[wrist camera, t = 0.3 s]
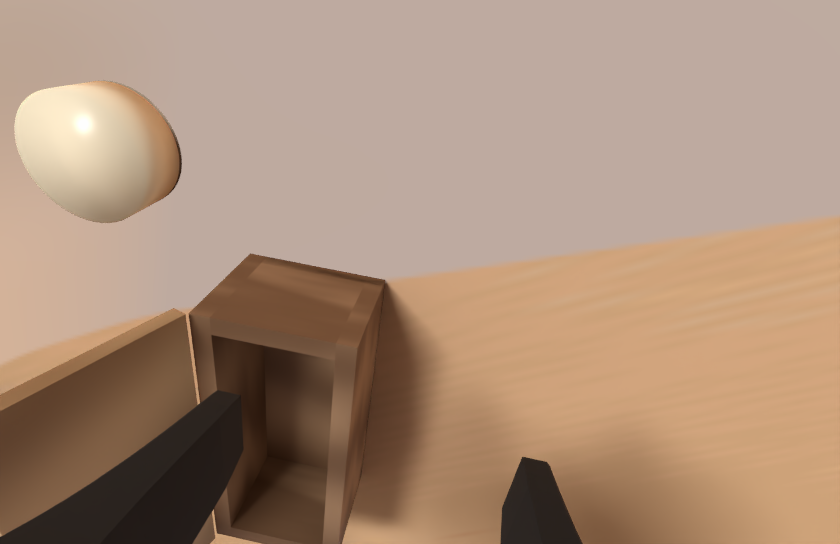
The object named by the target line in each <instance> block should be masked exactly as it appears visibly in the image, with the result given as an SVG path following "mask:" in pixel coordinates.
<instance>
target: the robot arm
mask: <svg viewBox="0 0 840 544" xmlns="http://www.w3.org/2000/svg"><path fill="white" fill-rule="evenodd" d="M243 450H244V447H243V428H242V408H241V395H238V394H233V393H229V392H224V391H220V390H217V391H215V392H214V393H212V394H211V395H210V396H209V397H207V398H206V399H205V400H204V401H202V402H201V403H200V404H198V405H197V406H196V407H195V408H193V409H192V410H191V411H190V412H188V413H187V414H186V415H184V416H183V417H182V418H181V419H179V420H178V421H177V422H175V423H174V424H173V425H172V426H170V427H169V428H168V429H166V430H165V431H164V432H162V433H161V434H160V435H158V436H157V437H156V438H154V439H153V440H152V441H150V442H149V443H147V444H146V445H145V446H143V447H142V448H141V449H139V450H138V451H137V452H135V453H134V454H132V455H131V456H130V457H128V458H127V459H125V460H124V461H122V462H121V463H120V464H118V465H117V466H115V467H114V468H112V469H111V470H109V471H108V472H106V473H105V474H103V475H102V476H100V477H99V478H98V479H96V480H95V481H93V482H92V483H90V484H89V485H87V486H85V487H84V488H82V489H81V490H79V491H78V492H76V493H75V494H73V495H71V496H70V497H68V498H67V499H65V500H63V501H62V502H60V503H58V504H57V505H55V506H53V507H52V508H50V509H48V510H47V511H45V512H43V513H42V514H40V515H38V516H37V517H35V518H33V519H31V520H30V521H28V522H26V523H24V524H22V525H21V526H19V527H17V528H15V529H13V530H12V531H10V532H8V533H6V534H5V535H3V536H1V537H0V544H193V542H194V540H195V539H196V537H197V535H198V534H199V532H200V531H201V529H202V527H203V526H204V524H205V522H206V521H207V519H208V517H209V516H210V514H211V512H212V511H213V509H214V507H215V506H216V504H217V502H218V501H219V499H220V497H221V496H222V494H223V492H224V490H225V489H226V487H227V485H228V482H229V480H230V478H231V476H232V474H233V472H234V470H235V468H236V465H237V463H238V461H239V459H240V457H241V454H242V452H243ZM501 544H582V541H581V539H580V537H579V535H578V533H577V531H576V529H575V526H574V524H573V522H572V520H571V517H570V515H569V513H568V510H567V508H566V506H565V503H564V501H563V498H562V496H561V494H560V491H559V489H558V486H557V483H556V481H555V478H554V476H553V473H552V471H551V468H550V466H549V464H548V463H547V462H544V461H539V460H535V459H530V458H526V457H522V459H521V462H520V464H519V467H518V469H517V472H516V474H515V477H514V479H513V482H512V484H511V487H510V489H509V492H508V494H507V497H506V499H505V502H504V505H503V507H502V524H501Z"/></svg>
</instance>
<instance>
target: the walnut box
mask: <svg viewBox="0 0 840 544" xmlns="http://www.w3.org/2000/svg"><path fill="white" fill-rule="evenodd" d="M384 286H385V280H382V279H377V278H372V277H367V276H361V275H357V274H351V273H347V272H341V271H336V270H331V269H326V268H321V267H316V266H310V265H305V264H301V263H295V262H290V261H285V260H280V259H275V258H270V257H265V256H259V255H254V254H250V255H249V256H248V257H246V258H245V259H244V260H243V261H242V262H241V263H240V264H239V265H238V266H237V267H236V268H235V269H234V270H233V271H232V272H231V273H230V274H229V275H228V276H227V277H226V278H225V279H224V280H223V281H222V282H221V283H220V284H219V285H218V286H217V287H216V288H215V289H213V290H212V291H211V292H210V293H209V294H208V295H207V296H206V297H205V298H204V299H203V300H202V301H201V302H200V303H199V304H198V305H197V306H196V307H195V308H194V309H193V310H192V311H191V312H190V313H189V319H190V327H191V335H192V343H193V350H194V358H195V366H196V374H197V382H198V389H199V397H200V403H201V402H202V401H204V400H205V399H206V398H207V397H209V396H210V395H211V394H212V393H214V392H215V391H217V390H220V391H224V392H229V393H233V394H238V395H241V408H242V428H243V447H244V450H243V452H242V454H241V457H240V459H239V461H238V463H237V465H236V468H235V470H234V472H233V474H232V476H231V478H230V480H229V482H228V485H227V487H226V489H225V490H224V492H223V494H222V496H221V497H220V499H219V501H218V502H217V504H216V506H215V507H214V514H215V522H216V529H217V533H218V534H223V535H227V536H232V537H236V538H240V539H245V540H249V541H254V542H258V543H263V544H342V541H343V537H344V534H345V530H346V527H347V523H348V520H349V516H350V513H351V509H352V506H353V502H354V499H355V495H356V492H357V488H358V485H359V481H360V478H361V472H362V464H363V455H364V447H365V439H366V431H367V423H368V415H369V407H370V399H371V391H372V383H373V375H374V367H375V359H376V351H377V342H378V334H379V326H380V318H381V310H382V302H383V294H384Z"/></svg>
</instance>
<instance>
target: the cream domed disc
mask: <svg viewBox="0 0 840 544" xmlns="http://www.w3.org/2000/svg"><path fill="white" fill-rule="evenodd" d="M14 132H15V140H16V144H17V149H18V152H19V154H20V157H21V159H22V161H23V164H24V166H25V167H26V169H27V171H28V173H29V174H30V176H31V177H32V179H33V180H34V181H35V183H36V184H37V185H38V186H39V187H40V189H41V190H42V191H43V192H44V193H45V194H46V195H47V196H48V197H49V198H51V199H52V200H53V201H54V202H55V203H56V204H58V205H59V206H61V207H62V208H63V209H65V210H67V211H68V212H70V213H72V214H74V215H76V216H78V217H81V218H83V219H86V220H90V221H93V222H100V223H112V222H118V221H121V220H124V219H126V218H128V217H130V216H131V215H133V214H135V213H137V212H139V211H141V210H142V209H144V208H146V207H148V206H150V205H151V204H153V203H155V202H157V201H159V200H161V199H163V198H164V197H166V196H167V195H169V194H170V193H171V192H172V190H174V188H175V187H176V185H177V183H178V181H179V178H180V174H181V169H182V157H181V151H180V146H179V143H178V140H177V137H176V135H175V133H174V130H173V129H172V127H171V125H170V123H169V122H168V120H167V119H166V117H165V116H164V115H163V113H162V112H161V111H160V110H159V109H158V108H157V107H156V106H155V105H154V104H153V103H152V102H151V101H150V100H149V99H148V98H146V97H145V96H144V95H142V94H141V93H140V92H138V91H136V90H134V89H133V88H131V87H129V86H126V85H124V84H121V83H117V82H113V81H93V82H87V83H80V84H74V85H67V86H61V87H55V88H49V89H43V90H39V91H37V92H35V93H33V94H32V95H30V96H28V97H27V98H26V99H25V100H24V101H23V102H22V104H21V106H20V107H19V109H18V112H17V115H16V119H15V131H14Z"/></svg>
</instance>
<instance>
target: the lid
mask: <svg viewBox="0 0 840 544" xmlns="http://www.w3.org/2000/svg"><path fill="white" fill-rule="evenodd" d="M196 406H197V398H196V391H195V383H194V376H193V368H192V361H191V353H190V346H189V338H188V331H187V323H186V316H185V314H184V313H182V312H180V311H178V310H176V309H174V308H173V309H171V310H169V311H167V312H165V313H163V314H161V315H159V316H157V317H155V318H153V319H151V320H149V321H147V322H145V323H143V324H141V325H139V326H137V327H135V328H133V329H131V330H129V331H127V332H125V333H123V334H121V335H119V336H117V337H115V338H113V339H111V340H109V341H107V342H105V343H103V344H101V345H99V346H97V347H95V348H93V349H91V350H89V351H87V352H85V353H83V354H81V355H79V356H77V357H75V358H73V359H71V360H69V361H67V362H65V363H63V364H61V365H59V366H57V367H55V368H53V369H51V370H49V371H47V372H45V373H43V374H41V375H39V376H37V377H35V378H33V379H31V380H29V381H27V382H25V383H23V384H21V385H19V386H17V387H15V388H13V389H11V390H9V391H7V392H5V393H3V394H1V395H0V537H1V536H3V535H5V534H6V533H8V532H10V531H12V530H13V529H15V528H17V527H19V526H21V525H22V524H24V523H26V522H28V521H30V520H31V519H33V518H35V517H37V516H38V515H40V514H42V513H43V512H45V511H47V510H48V509H50V508H52V507H53V506H55V505H57V504H58V503H60V502H62V501H63V500H65V499H67V498H68V497H70V496H71V495H73V494H75V493H76V492H78V491H79V490H81V489H82V488H84V487H85V486H87V485H89V484H90V483H92V482H93V481H95V480H96V479H98V478H99V477H100V476H102V475H103V474H105V473H106V472H108V471H109V470H111V469H112V468H114V467H115V466H117V465H118V464H120V463H121V462H122V461H124V460H125V459H127V458H128V457H130V456H131V455H132V454H134V453H135V452H137V451H138V450H139V449H141V448H142V447H143V446H145V445H146V444H147V443H149V442H150V441H152V440H153V439H154V438H156V437H157V436H158V435H160V434H161V433H162V432H164V431H165V430H166V429H168V428H169V427H170V426H172V425H173V424H174V423H175V422H177V421H178V420H179V419H181V418H182V417H183V416H184V415H186V414H187V413H188V412H190V411H191V410H192V409H193V408H195V407H196ZM214 539H215V533H214V526H213V518H212V512H211V514H210V516H209V517H208V519H207V521H206V522H205V524H204V526H203V527H202V529H201V531H200V532H199V534H198V535H197V537H196V539H195V540H194V542H193V544H210V543H211V542H212V541H213V540H214Z"/></svg>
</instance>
